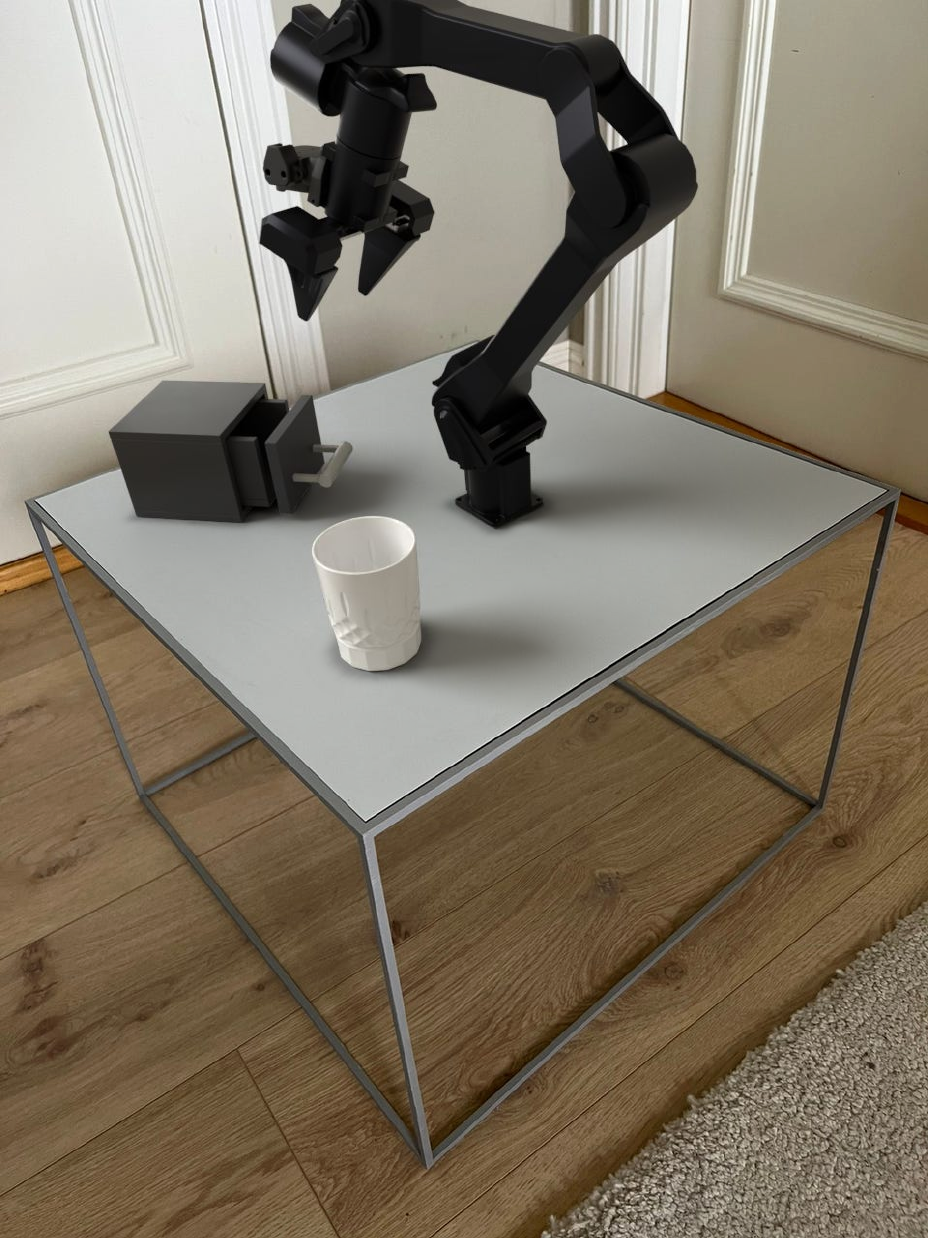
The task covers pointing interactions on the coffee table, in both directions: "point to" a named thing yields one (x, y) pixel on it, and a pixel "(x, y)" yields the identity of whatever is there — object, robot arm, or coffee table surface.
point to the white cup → (371, 590)
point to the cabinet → (184, 449)
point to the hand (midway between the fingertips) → (333, 305)
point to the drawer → (281, 453)
